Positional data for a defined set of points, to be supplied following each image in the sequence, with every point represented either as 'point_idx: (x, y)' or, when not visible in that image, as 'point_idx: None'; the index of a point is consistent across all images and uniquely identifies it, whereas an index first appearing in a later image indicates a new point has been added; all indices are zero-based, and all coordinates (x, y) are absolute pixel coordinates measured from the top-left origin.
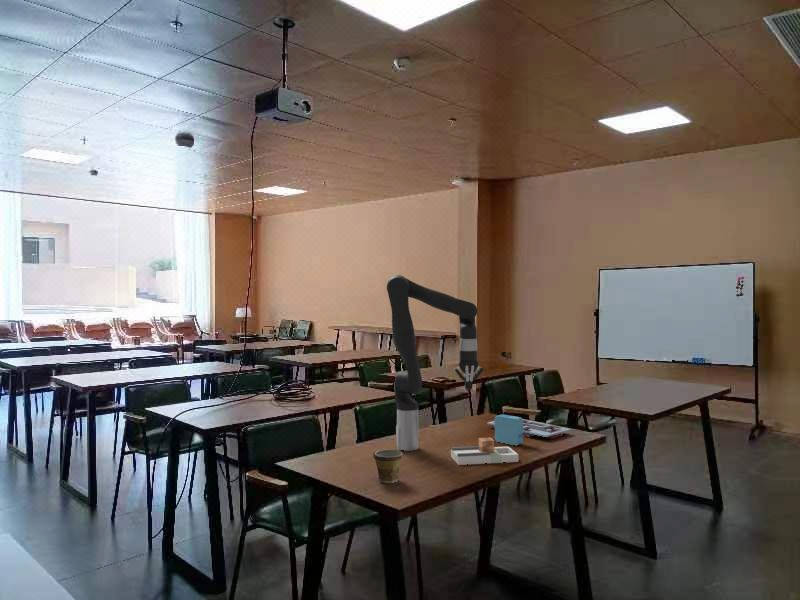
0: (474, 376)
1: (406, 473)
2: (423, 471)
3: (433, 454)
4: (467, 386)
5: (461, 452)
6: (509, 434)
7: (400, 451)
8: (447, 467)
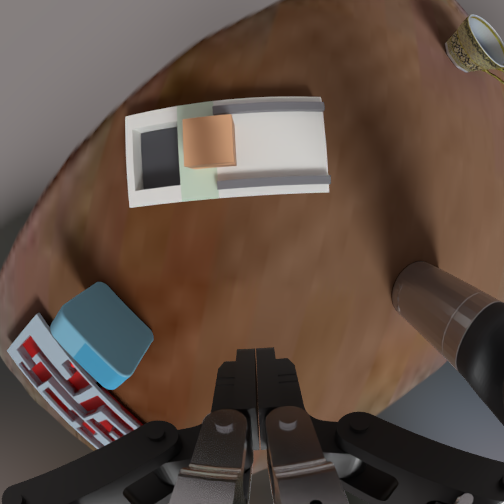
0: (165, 480)
1: (436, 81)
2: (405, 80)
3: (368, 222)
4: (276, 375)
5: (302, 147)
6: (107, 310)
7: (475, 37)
8: (348, 91)
